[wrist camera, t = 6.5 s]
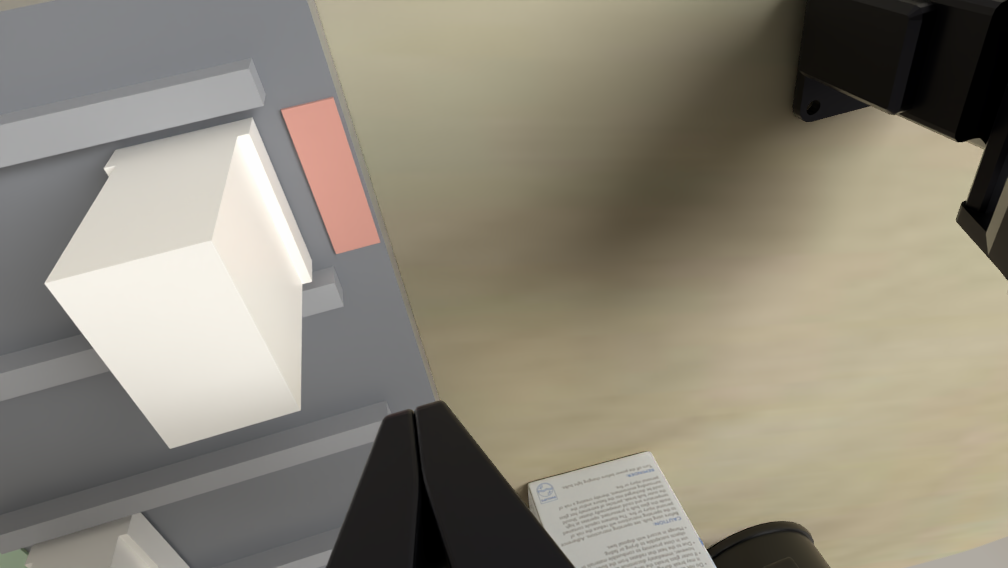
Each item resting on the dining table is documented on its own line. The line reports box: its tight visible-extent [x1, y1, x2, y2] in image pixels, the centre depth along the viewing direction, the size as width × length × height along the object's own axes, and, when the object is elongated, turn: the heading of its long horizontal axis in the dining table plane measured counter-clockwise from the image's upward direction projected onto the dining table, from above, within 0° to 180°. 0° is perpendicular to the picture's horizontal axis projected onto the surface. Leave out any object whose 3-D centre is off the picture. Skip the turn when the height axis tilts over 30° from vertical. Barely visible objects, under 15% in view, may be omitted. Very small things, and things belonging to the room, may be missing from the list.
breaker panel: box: [0, 0, 440, 568], centre depth 19 cm, size 15×21×4 cm
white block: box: [44, 117, 312, 449], centre depth 13 cm, size 3×4×5 cm
